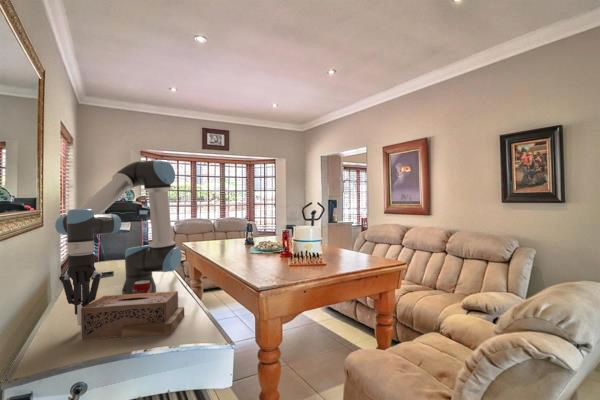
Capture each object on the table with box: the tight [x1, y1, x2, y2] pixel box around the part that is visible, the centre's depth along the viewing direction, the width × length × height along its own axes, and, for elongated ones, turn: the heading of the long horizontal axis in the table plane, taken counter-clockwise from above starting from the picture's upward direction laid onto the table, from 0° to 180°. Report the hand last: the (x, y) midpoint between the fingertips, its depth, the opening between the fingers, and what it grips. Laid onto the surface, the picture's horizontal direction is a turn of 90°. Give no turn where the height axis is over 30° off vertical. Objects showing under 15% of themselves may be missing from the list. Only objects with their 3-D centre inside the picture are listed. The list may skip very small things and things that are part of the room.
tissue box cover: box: [80, 290, 179, 340], centre depth 107 cm, size 26×14×10 cm, turn 97°
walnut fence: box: [121, 306, 185, 339], centre depth 107 cm, size 17×15×4 cm
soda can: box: [133, 280, 152, 294], centre depth 123 cm, size 7×7×12 cm
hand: (82, 323), depth 105 cm, fingers closed
